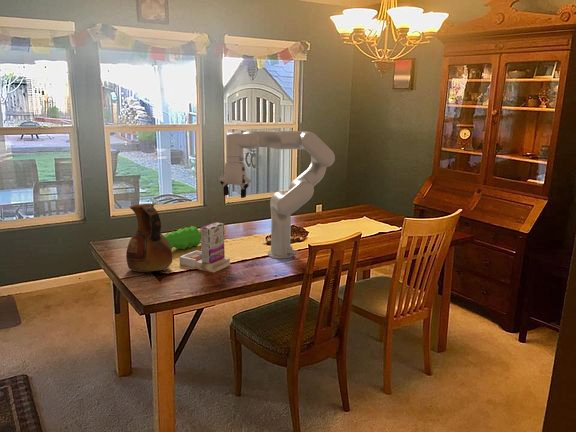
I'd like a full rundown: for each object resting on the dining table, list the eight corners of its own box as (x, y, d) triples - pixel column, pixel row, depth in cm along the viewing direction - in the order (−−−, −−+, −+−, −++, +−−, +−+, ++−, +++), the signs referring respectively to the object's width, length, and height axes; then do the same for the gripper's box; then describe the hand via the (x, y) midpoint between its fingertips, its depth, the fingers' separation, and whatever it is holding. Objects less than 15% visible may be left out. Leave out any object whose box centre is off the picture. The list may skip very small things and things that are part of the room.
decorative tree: (207, 221, 265) (158, 229, 243) (213, 243, 264) (164, 253, 242) (194, 226, 273) (146, 234, 250) (199, 247, 272) (151, 257, 250)
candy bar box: (216, 256, 238) (215, 221, 234) (224, 257, 235) (224, 223, 232) (200, 262, 228) (200, 226, 225) (209, 264, 226) (209, 228, 222)
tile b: (200, 255, 234) (196, 254, 235) (194, 257, 231) (190, 256, 232) (200, 263, 235) (196, 262, 236) (194, 265, 232) (190, 265, 233)
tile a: (207, 252, 239) (203, 251, 240) (201, 254, 236) (197, 253, 237) (207, 260, 240) (203, 259, 241) (201, 262, 236) (197, 261, 238)
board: (229, 265, 235) (229, 258, 235) (213, 272, 225) (213, 265, 224) (212, 261, 240) (212, 255, 239) (196, 268, 230) (195, 261, 229)
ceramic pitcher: (154, 260, 241) (152, 197, 234) (182, 269, 228) (180, 204, 222) (118, 270, 226) (114, 203, 219) (145, 280, 213) (142, 211, 207)
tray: (211, 261, 240) (211, 253, 239) (195, 268, 230) (194, 259, 229) (196, 258, 244) (196, 250, 244) (179, 265, 234) (179, 256, 233)
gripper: (254, 160, 234) (254, 197, 238) (224, 157, 242) (224, 193, 246) (245, 162, 228) (245, 199, 232) (214, 159, 236) (215, 195, 240)
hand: (234, 196), depth 239 cm, fingers open, 9 cm apart
